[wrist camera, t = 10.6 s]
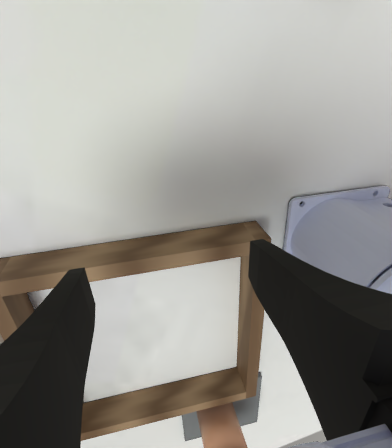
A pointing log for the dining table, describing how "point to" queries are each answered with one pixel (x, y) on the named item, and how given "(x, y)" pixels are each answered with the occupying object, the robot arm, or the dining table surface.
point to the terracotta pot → (220, 427)
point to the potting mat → (243, 409)
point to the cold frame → (135, 264)
